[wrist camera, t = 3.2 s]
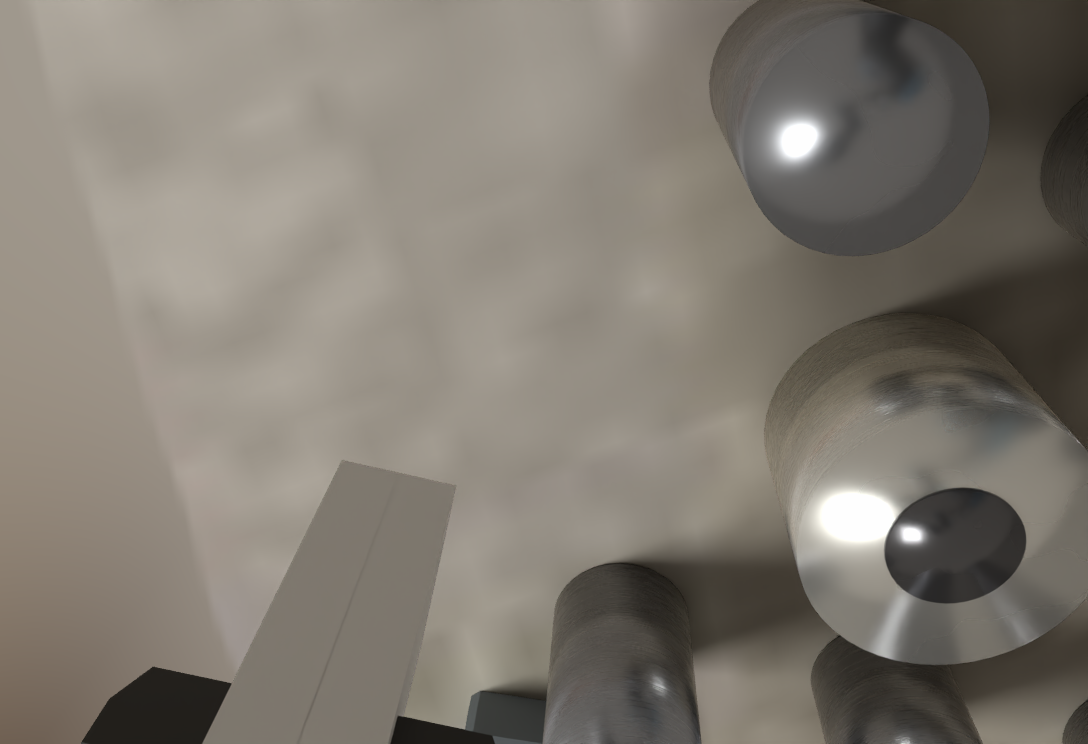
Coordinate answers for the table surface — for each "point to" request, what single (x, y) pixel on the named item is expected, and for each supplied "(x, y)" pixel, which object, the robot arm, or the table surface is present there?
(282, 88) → the table surface
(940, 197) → the spacer field
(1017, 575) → the silver metal cylinder
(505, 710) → the bracket
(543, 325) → the table surface
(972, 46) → the table surface
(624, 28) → the table surface
